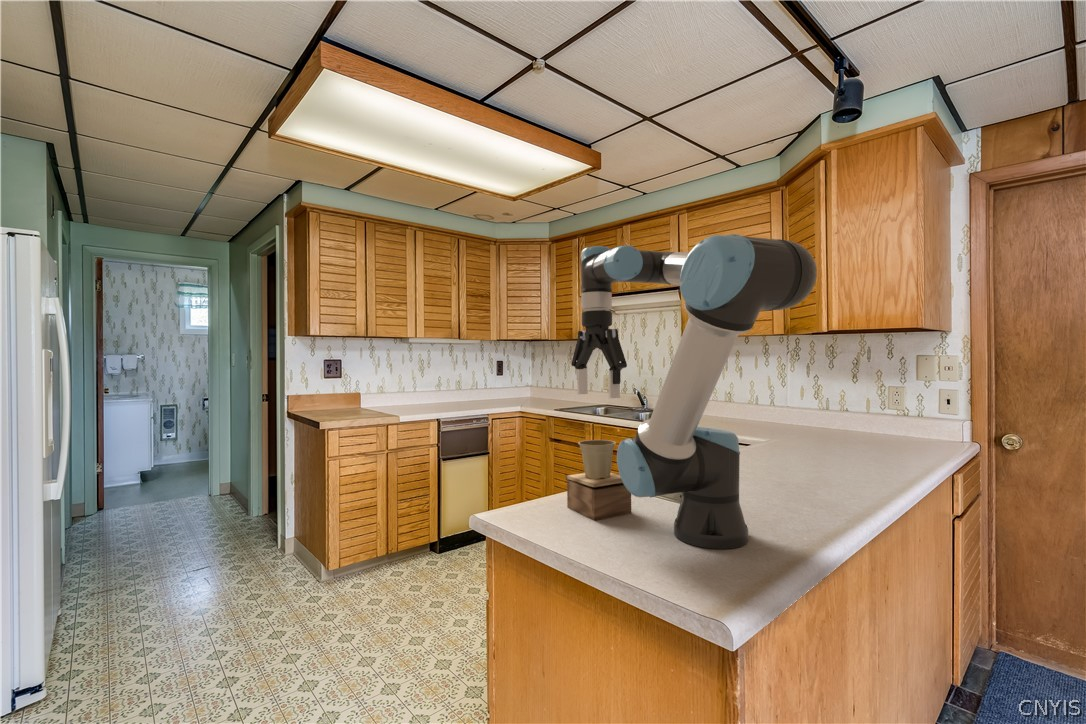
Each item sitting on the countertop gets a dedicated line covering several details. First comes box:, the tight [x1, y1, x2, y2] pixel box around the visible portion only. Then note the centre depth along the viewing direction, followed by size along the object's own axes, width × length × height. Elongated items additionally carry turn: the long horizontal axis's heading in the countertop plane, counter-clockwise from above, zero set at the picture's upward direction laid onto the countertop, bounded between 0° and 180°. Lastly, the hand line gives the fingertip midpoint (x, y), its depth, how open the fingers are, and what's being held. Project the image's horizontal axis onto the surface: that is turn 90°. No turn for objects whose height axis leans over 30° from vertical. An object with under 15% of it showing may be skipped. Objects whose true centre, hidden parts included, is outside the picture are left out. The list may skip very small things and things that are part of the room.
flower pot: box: [577, 439, 617, 479], centre depth 129 cm, size 9×9×9 cm
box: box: [566, 480, 632, 522], centre depth 129 cm, size 12×11×7 cm
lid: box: [565, 472, 622, 487], centre depth 129 cm, size 13×11×1 cm
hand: (597, 396), depth 128 cm, fingers open, 13 cm apart
